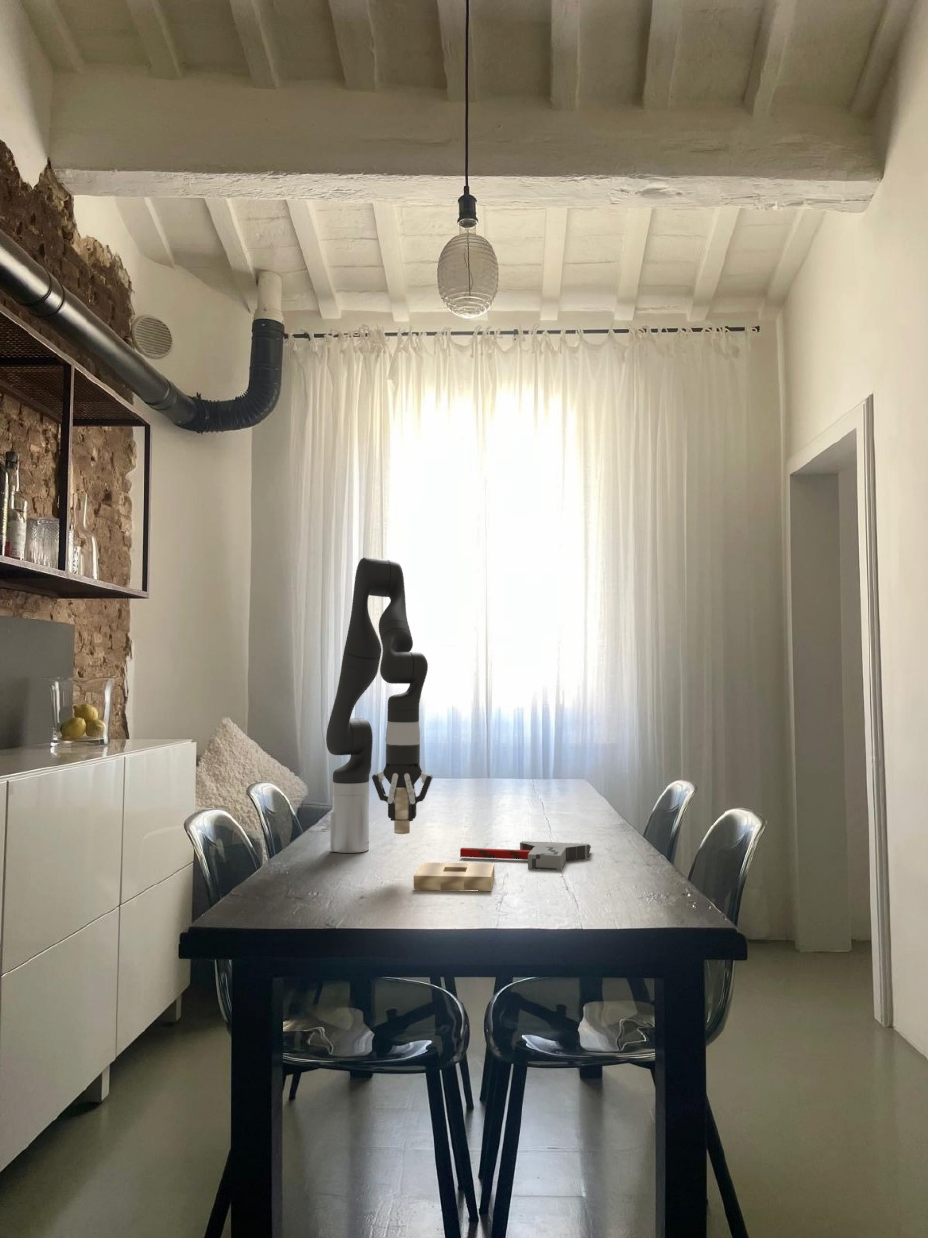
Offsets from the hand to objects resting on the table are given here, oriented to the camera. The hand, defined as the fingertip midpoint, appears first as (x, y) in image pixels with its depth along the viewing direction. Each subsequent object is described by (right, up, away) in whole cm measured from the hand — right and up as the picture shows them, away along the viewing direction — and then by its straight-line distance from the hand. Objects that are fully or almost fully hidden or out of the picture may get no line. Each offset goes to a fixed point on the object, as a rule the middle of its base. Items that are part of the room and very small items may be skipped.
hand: (401, 820), depth 212 cm
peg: (0, -3, 0) cm, 3 cm away
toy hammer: (+28, -14, +20) cm, 37 cm away
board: (+12, -12, -8) cm, 19 cm away
